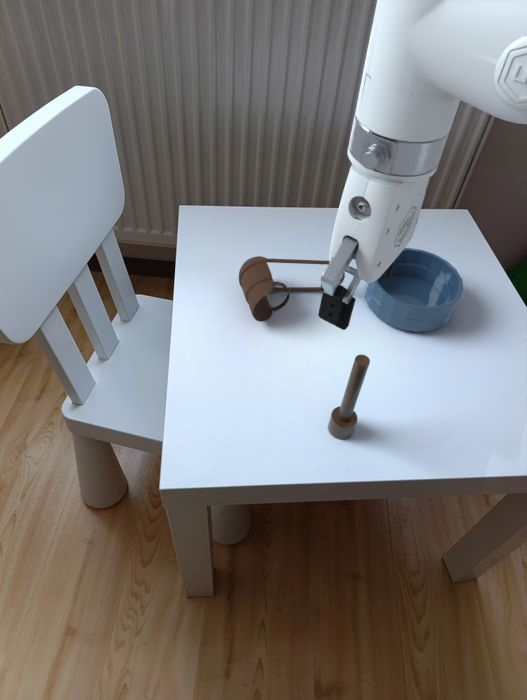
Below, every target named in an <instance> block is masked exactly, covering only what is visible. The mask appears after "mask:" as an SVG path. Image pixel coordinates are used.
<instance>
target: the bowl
mask: <svg viewBox="0 0 527 700" xmlns="http://www.w3.org/2000/svg"><path fill="white" fill-rule="evenodd" d="M463 292H464V282H463V278H462V276H461V275H460V273H459V271H458V270H457V269H456V267H454V266H453V265H452V264H451V263H450V262H449V261H448V260H446V259H445V258H442V257H441V256H439V255H438V254H436V253H433V252H430V251H427V250H423V249H418V248H413V247H412V248H411V247H405V248H404V250H403V251H402V252H401V253H400V254H399V256H398V257H397V258H396V260H395V263H394V266H393V269H392V273H391V275H390V276H389V278H383V277H381V276H380V278H378V279H377V280H376V281H374V282H371V283H367V282H366V283H365V286H364V300H365V302H366V304H367V307H368V308H369V310H370V311H371V312H372V313H373V314H374V315H375V317H377V318H378V319H380V320H381V321H382V322H384V323H385V324H387V325H389V326H391V327H393V328H396V329H398V330H401V331H405V332H413V333H415V332H416V333H421V332H431V331H434V330H437V329H440V328H442V327H444V326H445V325H446V324H447V323H448V322H449V321H450V320H451V318H452V316H453V314H454V312H455V310H456V308H457V305H458V303H459V301H460V299H461V297H462V294H463Z"/></svg>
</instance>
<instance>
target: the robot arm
mask: <svg viewBox="0 0 527 700" xmlns="http://www.w3.org/2000/svg"><path fill="white" fill-rule="evenodd" d="M373 14H374V15H373V20H372V25H371V30H370V35H369V41H368V45H367V51H366V55H365V60H364V66H363V71H362V76H361V81H360V86H359V92H358V96H357V102H356V106H355V112H354V117H353V120H352V121H353V122H352V126H351V130H350V136H349V141H348V147H347V157H348V159H349V161H350V163H351V166H350V168H349V172H348V175H347V178H346V181H345V185H344V188H343V191H342V194H341V199H340V202H339V206H338V209H337V213H336V215H335V216H336V217H335V221H334V225H333V229H332V234H331V239H330V244H329V251H328V261H329V262H330V263H329V265H326V268H325V269H324V271H323V272H322V274H321V276H320V287H321V291H320V292H322V294H321V299H320V304H319V309H318V314H317V315H318V317H319V318H320V319H321V320H323V321H325V322H326V323H328V324H330V325H333V326H334V327H336V328H339V329H340V330H343V331H346V330H347V329H348V327H349V326H350V323H351V318H352V316H353V315H352V314H353V312H354V308H355V303H356V299H357V298H355V297H354V295H355V293H356V291H357V289H358V287H359V285H360V283H361V281H364V282H366V283H371V282H374V281H376V280H377V279H378V278H380V276H381V277H383V278H389V276H390V275H391V273H392V269H393V266H394V263H395V260H396V258H397V257H398V256H399V254H400V253H401V252H402V251H403V250H404V248H407V246H408V245H409V243H410V242H411V240H412V238H413V236H414V234H415V231H416V227H417V224H418V220H419V217H420V213H421V210H422V207H423V204H424V200H425V197H426V192H427V189H428V185H429V180H430V177H432V176H434V174H435V173H436V172H437V170H438V167H439V164H440V161H441V158H442V155H443V152H444V149H445V146H446V143H447V140H448V138H449V134H450V131H451V129H452V127H453V123H454V120H455V116H456V114H457V111H458V109H459V106H460V103H461V101H462V102H464V103H465V104H468V105H470V106H472V107H474V108H476V109H477V110H480V111H482V112H483V113H486V114H488V115H490V116H492V117H495V118H498V119H500V120H503V121H505V122H510V123H514V124H518V125H519V124H521V125H527V0H376V5H375V10H374V13H373ZM352 260H353V261H355V266H356V268H355V267H353V266H350V265H351V262H352ZM344 272H346V273H347V274H350V275H352V278H351V280H350V282H349V284H348V286H347V287H345V286H343V285H342V283H341V278H342V276H343V273H344ZM340 283H341V284H340Z"/></svg>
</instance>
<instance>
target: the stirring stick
mask: <svg viewBox="0 0 527 700" xmlns="http://www.w3.org/2000/svg"><path fill="white" fill-rule="evenodd" d="M370 363H371V359H370V357H368V356H367V355H366V354H358V355H356V356H355V357H354V361H353V364H352V367H351V371H350V374H349V377H348V381H347V384H346V386H345V390H344V394H343V397H342V400H341V403H340V405H339V406H336V407H334V408H333V410H332V411H331V414H330V417H329V420H328V424H327V431H328V433H329V435H331V436H332V437H333V438H335V439H337V440H348V439H349V438H351V437H352V435H353V434H354V431H355V428H356V426H357V423H358V415H357V413H356V411H355V407H356V404H357V403H358V402H357V401H358V399H359V396H360V393H361V389H362V387H363V384H364V381H365V378H366V375H367V373H368V369H369V366H370Z"/></svg>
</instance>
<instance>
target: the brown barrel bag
mask: <svg viewBox="0 0 527 700" xmlns="http://www.w3.org/2000/svg"><path fill="white" fill-rule="evenodd" d="M268 263H270V264H271V263H272V264H299V265H300V264H301V265H302V264H303V265H326V266H328V265H329V263H330V262H329V260H321V259H320V260H319V259H295V258H293V259H292V258H267V257H265V256H252V257H250V258H248V259H247V260H245V261H244V262H243V263H242V265H241V266H240V269H239V271H238V282H239V286H240V287H241V290H242V292H243V295H244V299H245V301H246V303H247V304H248V307H249V309H250V312H251V316H252V317H253V318H254V319H255V320H256V321H257V322H265V321H267V320H270V319H271V318H272V317H273V312H277V311H279V310H280V309H282V308H283V307H285V306H286V305H287V304H288V302H289V301H290V297H291V293H290V292H322V291H321V286H296V287H295V286H293V287H292V286H291V287H288V286H287V285H286V284H285V283H284V282H280V281H274V279H273V275H272V271H271V270H270V269H271V268H270V267H269V265H268ZM345 277H346V274H345V272H344V273H343V275H342V277H341V283H340V285H342V283H344V280H345ZM271 292H287V294H286V297H285V299H283V301H282V302H280V304H277V305H275V306H272V305H271V303H270V300H269V298H268V295H269V294H270V293H271Z"/></svg>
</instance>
